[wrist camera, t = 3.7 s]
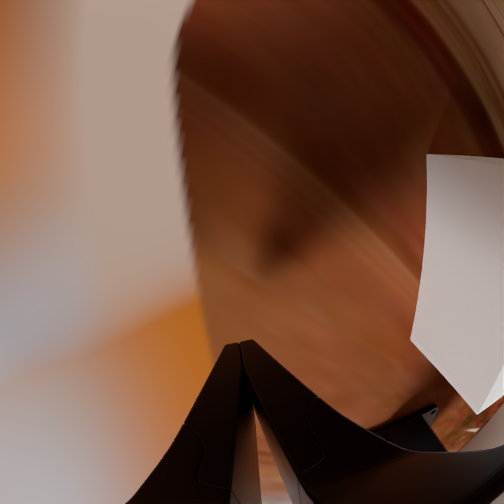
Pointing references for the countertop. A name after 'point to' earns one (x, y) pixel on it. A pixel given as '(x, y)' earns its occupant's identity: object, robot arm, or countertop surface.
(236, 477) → the robot arm
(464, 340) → the block
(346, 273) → the countertop surface
